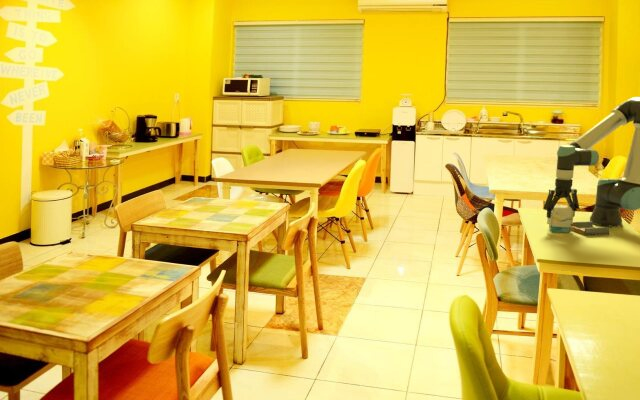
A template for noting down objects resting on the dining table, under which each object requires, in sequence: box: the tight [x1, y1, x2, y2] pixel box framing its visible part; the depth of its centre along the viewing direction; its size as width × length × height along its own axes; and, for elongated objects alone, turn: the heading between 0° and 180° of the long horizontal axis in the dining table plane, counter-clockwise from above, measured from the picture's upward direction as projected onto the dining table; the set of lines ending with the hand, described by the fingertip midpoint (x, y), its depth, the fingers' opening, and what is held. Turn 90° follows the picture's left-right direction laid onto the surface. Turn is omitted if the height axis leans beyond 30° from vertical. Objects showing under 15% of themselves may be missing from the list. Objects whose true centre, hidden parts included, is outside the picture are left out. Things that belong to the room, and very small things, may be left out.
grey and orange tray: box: [570, 220, 611, 237], centre depth 300 cm, size 13×13×4 cm
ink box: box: [548, 204, 572, 233], centre depth 299 cm, size 9×8×12 cm
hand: (559, 223), depth 299 cm, fingers closed on ink box, 10 cm apart
